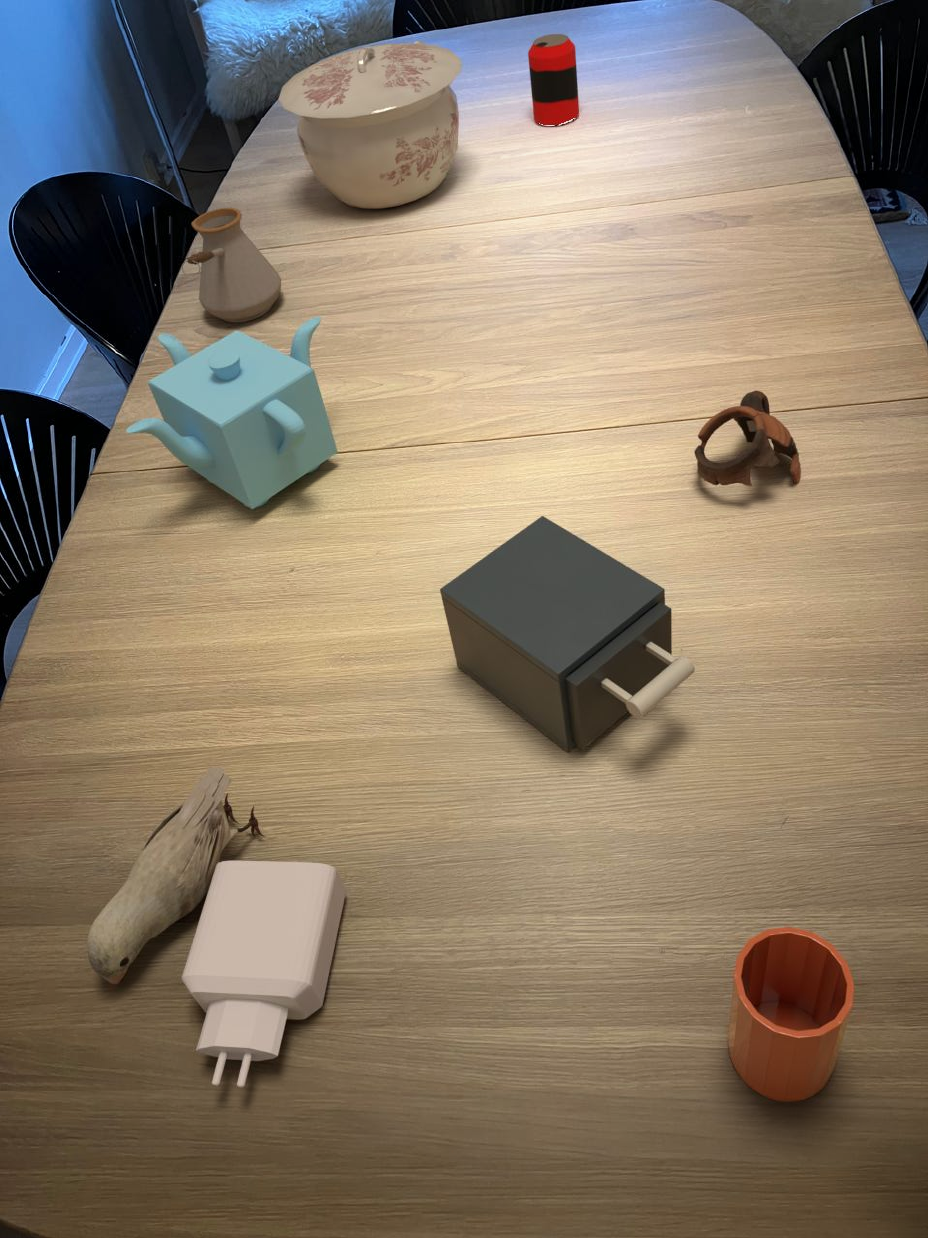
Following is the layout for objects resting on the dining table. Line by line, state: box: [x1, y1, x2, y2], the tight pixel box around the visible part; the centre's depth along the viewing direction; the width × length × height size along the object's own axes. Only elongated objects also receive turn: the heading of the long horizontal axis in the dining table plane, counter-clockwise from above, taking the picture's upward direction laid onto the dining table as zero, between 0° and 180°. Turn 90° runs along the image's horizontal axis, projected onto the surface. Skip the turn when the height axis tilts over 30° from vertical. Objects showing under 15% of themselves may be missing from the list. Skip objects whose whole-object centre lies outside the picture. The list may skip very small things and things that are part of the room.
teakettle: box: [125, 316, 339, 510], centre depth 111 cm, size 19×19×15 cm
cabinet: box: [439, 515, 666, 753], centre depth 86 cm, size 14×12×10 cm
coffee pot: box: [181, 207, 282, 323], centre depth 134 cm, size 21×12×15 cm, turn 179°
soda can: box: [527, 33, 580, 125], centre depth 169 cm, size 8×8×12 cm
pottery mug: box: [694, 390, 802, 487], centre depth 103 cm, size 12×10×8 cm
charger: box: [181, 860, 347, 1089], centre depth 71 cm, size 5×9×15 cm
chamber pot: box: [278, 40, 463, 209], centre depth 156 cm, size 28×28×21 cm
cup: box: [727, 926, 855, 1103], centre depth 62 cm, size 6×6×10 cm
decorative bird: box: [86, 765, 266, 985], centre depth 76 cm, size 5×16×8 cm, turn 148°
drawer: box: [565, 602, 696, 750], centre depth 84 cm, size 17×11×8 cm, turn 41°
